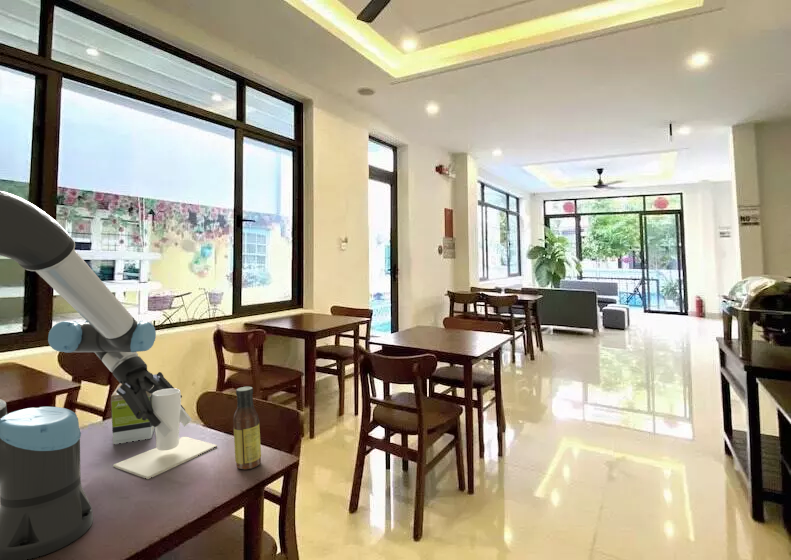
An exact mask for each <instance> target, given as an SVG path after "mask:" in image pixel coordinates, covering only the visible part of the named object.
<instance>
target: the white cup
mask: <svg viewBox="0 0 791 560" xmlns="http://www.w3.org/2000/svg"><path fill="white" fill-rule="evenodd" d="M181 395H182V394H181V390H180V389H179V388H175V387H174V388H169V389H162V390H158V391H155V392H153V393H152V408H153V410H154V412H155V411H157V412H158V413H159V414H160V415H161V416H162V417H163V418H164V419H165V421H166V422H167V423H168V424H169V425H170V427H171V428H172V429H173V430H172V431H171V432H170V433H169V434H168V435H167V436H166V437H164V436H163V435H162V434H161V433H160V431H159V430H158V429H157V428H156V427H154V434H155V448H157V449H158V450H162V451H164V450H170V449H173V448H175V447H177V446H178V444H179V438H180V423H181V422H180V412H181V405H182V398H181ZM154 412H153V413H154Z"/></svg>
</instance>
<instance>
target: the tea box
mask: <svg viewBox="0 0 791 560" xmlns="http://www.w3.org/2000/svg"><path fill="white" fill-rule="evenodd" d="M121 385H122V384H121V383H119V384H118V385H117V387H116V388H115V390H114V391H113V392H112V394H111V396H110V402H111V403H110V405H111V424H112V427H111V429H112V445H114V444H115V445H120V444H119V443H121V444H127V443H126V442H128V443H133V442H132V441H134V442H139V441H138V440H140V441H145V439H146V440H150V439H152V438H153V434H154V432H155V428H154V426H153V425H152V424H151V423H150V422H149V420H148V419H147V420H145V421H144V420H142V418H141V419H137V418H136V416H135V415H134V413H133V412H132V410H131V409H130V407H129V406H128V405H127V403H126V402H125V400H124V399H123V397H122V396H120V395H119V394H118V393H117V392H116V391H117V389H118V388H119V387H120V386H121ZM153 387H154V385H153ZM153 387H152V388H153ZM152 388H151V389H152ZM146 393H147V396H148V398H149V401H150V403H151V406H152V393H148V392H147V391H146ZM139 412H140V411H139Z"/></svg>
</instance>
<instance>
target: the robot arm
mask: <svg viewBox="0 0 791 560" xmlns="http://www.w3.org/2000/svg"><path fill="white" fill-rule="evenodd" d="M67 231H68V230H67ZM67 231H66V229H65V228H64V227H63V226H62V225H61V224H60V223H59V222H58V221H56V219H54V218H53V217H52V216H50V215H49V214H48V213H46V211H44V210H42V209H41V208H39V207H38V206H37V205H35V204H33V203H31V202H30V201H28V200H26V199H24V198H23V197H20V196H18V195H15V194H13V193H9V192H7V191H2V190H0V257H4V258H8V259H11V260H12V261H15V262H16V263H17V264H18V265H19V266H20V267H21V268H22V269H24V270H26V271H30V272H35V273H36V274H37V275H39V277H40V278H41V279H43V281H45V282H46V283H47V285H49V286H50V287H51V288H52V289H53V290H55V292H56V293H57V294H58V295H59V296H61V298H62V299H64V301H65V302H66V303H68V305H70V306H71V307H72V308H73V309H74V310H75V311H76V312H77V313H78V314H79V315H80V316H81V317H82V318H83V319H84V320H85V321H76V320H70V321H69V320H68V321H67V320H64V321H59V322H58V323H56V324H54V325H53V326H52V327H51V329H49V332H48V337H47V341H48V344H49V346H50V347H51V349H52V350H55V351H56V352H60V353H61V352H62V353H63V352H64V353H66V354H67V353H94V354H95V355H96V356H97V358H98V359H99V360H100V361H101V362H102V363H103V365H104V366H105V367H106V368H107V369H108V370H109V372H111V373H112V376H113V377H114V378H115V379H116V380H117V381H118V383H119V384H120V383H121V384H122V385H121V386H120V387H119V388H118V389H117V391H116V392H117V393H118V394H119V395H120V396H122V397H123V399H124V400H125V402H126V403H127V405H128V406H129V407H130V409H131V410H132V412H133V413H134V415H135V416H136V418H137V419H141V418H142V420H144V421H145V420H147V419H148V420H149V422H150V423H151V424H152V425H153V426H154V427H156V428H157V429H158V430H159V431H160V433H161V434H162V435H163V436H164V437H166V436H167V435H168V434H169V433H170V432H171V431H172V430H173V429H172V428H171V427H170V425H169V424H168V423H167V422H166V421H165V419H164V418H163V417H162V416H161V415H160V414H159V413H158V412H157V411H155V412H154V410H153V408H152V406H151V403H150V401H149V398H148V396H147V393H146V391H147V392H148V393H153V392H155V391H158V390H162V389H169V388H175V387H174V386H173V385H172V384H171V383H170V382H169V381H168V380H167V379H166V377H164V374H163V373H162V372H160V371H159V372H157V373H155V374H153V373H151V371H149V370H148V364H147V363H146V362H145V361H144V360H143V358H142V357H141V356H140V355H139V353H137V352H147V351H149V350H151V348H153V346H154V344H155V341H156V337H157V336H156V335H157V333H156V328H155V326H154V325H153V323H151V322H148V321H142V320H140V321H137V320H136V319H135V318H134V317H133V316H132V315H131V313H130V312H129V311H128V310H127V309H126V307H125V306H124V305H123V304H122V303H121V302H120V300H119V299H117V297H116V296H115V294H113V292H112V291H111V290H110V289H109V288H108V286H106V284H105V282H103V281H102V279H100V278H99V276H98V275H97V273H96V272H95V271H94V270H93V269H92V268H91V266H89V265H88V263H87V262H86V261H85V260H84V259H83V258H82V257H81V256H80V254H79V253H78V252H77V250H75V248H76V242H75V240H74V239H73V237H72V236H71V235H70V233H68V232H67ZM153 385H154V387H153ZM152 387H153V388H152ZM151 388H152V389H151ZM182 397H183V396H182V394H181V399H182ZM139 411H140V412H139ZM153 412H154V413H153ZM192 419H193V418H192V417H191V416H190V415H189V414H188V413H187V411H186V408H185V407H184V406H183V405H182V404H181V412H180V423H181V424H182V426H183V427H184V428H185V427H186V426H187V425H189V423H191V421H192ZM81 434H82V433H81V429H80V423H79V418H78V415H77V414H76V413H75V412H74V411H73V410H71V409H68V408H65V407H60V406H59V407H58V406H39V407H27V408H23V409H18V410H14V411H11V412H9V413H8V408H7V402H6V401H5V400H3V399H2V398H1V399H0V560H27V559H29V560H32V558H33V559H36V558H39V556H40V557H42V556H45V555H48V554H51V553H54V552H55V551H58V550H60V549H63V548H64V547H66V546H68V545H70V544H71V543H73V542H75V541H76V540H78V539H79V538H80V537H82V536H83V535H84V534H85V533H87V532H88V531H89V529H90V528H91V526H92V525H93V522H94V514H93V507H92V505H91V502H90V501H89V499H88V497H87V495H86V492H85V491H84V488H83V486H82V483H81V482H82V481H81V479H82V477H81Z"/></svg>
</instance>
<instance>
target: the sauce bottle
mask: <svg viewBox="0 0 791 560" xmlns="http://www.w3.org/2000/svg"><path fill="white" fill-rule="evenodd" d="M253 393H254V388H253V387H252V386H243V387H242V386H241V387H238V388H236V390H235V394H236V401H237V404H236V407H237V408H236V409H235V412H234V414H233V419H232V420H233V440H234V458H235V459H234V461H235V465H236V467H237V469H239V470H245V471H247V470H251V469H255V468H257V467H258V466H260V464H261V462H262V460H261V457H262V450H261V449H262V448H261V433H260V432H261V430H260V418H259V415H258V414H259V413H258V412H257V411H256V408H255V406H254V399H253V398H254V397H253Z"/></svg>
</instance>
